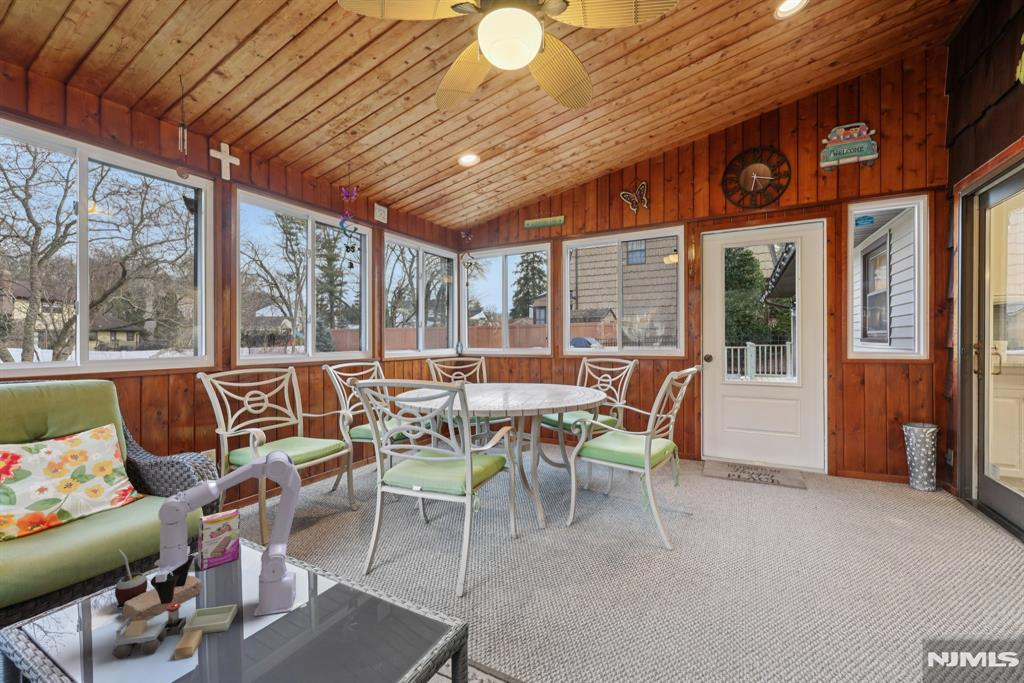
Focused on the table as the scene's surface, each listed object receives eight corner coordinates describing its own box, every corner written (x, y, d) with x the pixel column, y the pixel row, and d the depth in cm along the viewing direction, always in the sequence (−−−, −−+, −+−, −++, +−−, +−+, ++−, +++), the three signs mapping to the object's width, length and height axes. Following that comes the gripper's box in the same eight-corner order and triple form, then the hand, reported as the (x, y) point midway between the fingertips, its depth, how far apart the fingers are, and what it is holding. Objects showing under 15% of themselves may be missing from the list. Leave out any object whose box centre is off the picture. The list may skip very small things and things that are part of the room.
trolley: (167, 638, 113) (167, 612, 113) (157, 653, 108) (157, 625, 108) (125, 644, 111) (125, 617, 111) (112, 659, 106) (112, 631, 106)
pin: (182, 625, 119) (182, 599, 118) (177, 633, 116) (177, 606, 115) (169, 627, 118) (169, 601, 118) (164, 634, 115) (164, 608, 115)
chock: (201, 640, 113) (201, 630, 113) (192, 657, 108) (192, 646, 108) (185, 643, 112) (185, 632, 112) (174, 660, 107) (175, 648, 107)
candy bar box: (201, 571, 144) (201, 521, 144) (197, 565, 148) (197, 517, 147) (240, 559, 152) (240, 512, 152) (235, 554, 156) (236, 508, 156)
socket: (186, 623, 119) (186, 617, 119) (179, 634, 115) (179, 627, 115) (167, 626, 118) (167, 619, 118) (160, 636, 114) (160, 630, 114)
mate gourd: (141, 610, 125) (141, 557, 124) (105, 615, 122) (106, 561, 121) (151, 595, 131) (152, 545, 131) (118, 600, 129) (118, 549, 128)
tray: (236, 611, 125) (237, 604, 125) (227, 630, 117) (227, 622, 117) (195, 617, 122) (195, 609, 122) (183, 636, 114) (183, 628, 114)
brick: (137, 627, 118) (137, 609, 118) (120, 618, 121) (120, 601, 121) (203, 594, 133) (203, 579, 133) (186, 587, 136) (186, 572, 136)
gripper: (169, 532, 122) (168, 580, 122) (141, 558, 108) (140, 613, 108) (198, 529, 124) (198, 577, 124) (174, 555, 110) (174, 609, 110)
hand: (173, 594), depth 116 cm, fingers open, 7 cm apart
